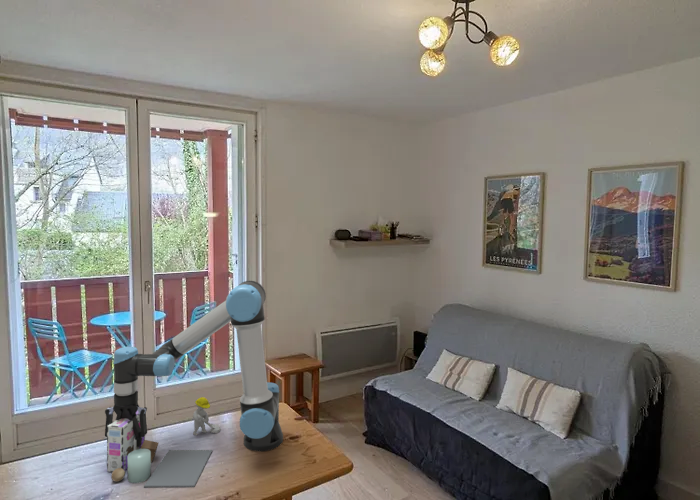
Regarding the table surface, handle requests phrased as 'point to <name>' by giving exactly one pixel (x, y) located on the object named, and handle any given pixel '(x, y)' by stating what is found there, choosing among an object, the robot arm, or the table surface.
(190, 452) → the felt mat
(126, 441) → the candy box
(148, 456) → the pale green rounded cylinder
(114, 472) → the cork ball
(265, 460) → the table surface
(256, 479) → the table surface
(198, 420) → the figurine
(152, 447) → the walnut block
